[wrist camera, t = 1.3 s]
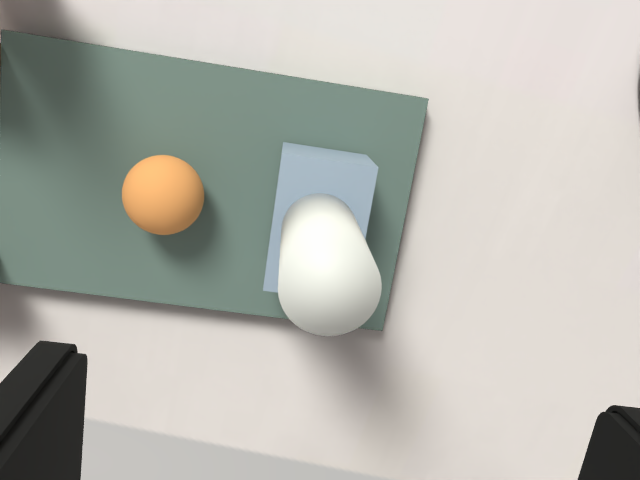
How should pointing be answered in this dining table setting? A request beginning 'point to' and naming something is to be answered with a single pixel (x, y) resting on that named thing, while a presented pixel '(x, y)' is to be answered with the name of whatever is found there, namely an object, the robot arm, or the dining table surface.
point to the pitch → (188, 145)
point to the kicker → (323, 240)
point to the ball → (163, 194)
